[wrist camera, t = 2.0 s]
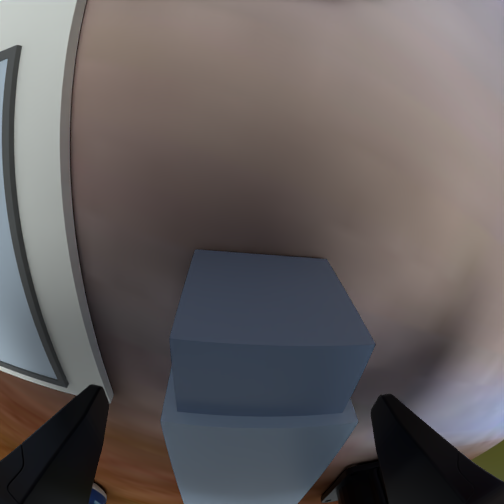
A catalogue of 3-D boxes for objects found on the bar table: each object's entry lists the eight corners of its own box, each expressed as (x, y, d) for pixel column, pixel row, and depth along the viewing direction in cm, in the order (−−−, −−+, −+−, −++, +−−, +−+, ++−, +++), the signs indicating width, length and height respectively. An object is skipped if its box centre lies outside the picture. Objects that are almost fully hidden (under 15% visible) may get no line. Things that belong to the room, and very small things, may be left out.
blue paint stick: (277, 444, 12) (286, 515, 8) (193, 441, 12) (187, 514, 8) (334, 254, 8) (396, 354, 4) (185, 243, 8) (146, 348, 4)
